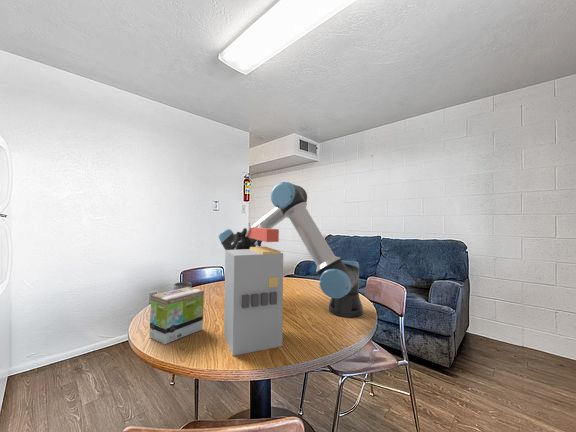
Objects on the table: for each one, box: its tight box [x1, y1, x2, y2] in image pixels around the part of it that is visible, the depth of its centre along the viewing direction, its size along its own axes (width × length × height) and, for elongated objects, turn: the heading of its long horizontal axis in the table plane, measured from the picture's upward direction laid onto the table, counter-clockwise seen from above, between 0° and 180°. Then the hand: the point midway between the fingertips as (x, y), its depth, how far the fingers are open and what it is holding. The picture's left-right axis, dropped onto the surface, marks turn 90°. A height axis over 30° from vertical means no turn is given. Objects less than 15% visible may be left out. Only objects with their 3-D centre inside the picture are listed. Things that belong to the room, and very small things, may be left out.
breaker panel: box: [223, 249, 284, 357], centre depth 87 cm, size 17×16×30 cm
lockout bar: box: [247, 227, 280, 243], centre depth 94 cm, size 28×4×4 cm, turn 23°
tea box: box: [148, 287, 205, 345], centre depth 92 cm, size 15×10×15 cm, turn 148°
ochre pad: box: [250, 246, 282, 254], centre depth 90 cm, size 16×6×1 cm, turn 23°
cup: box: [173, 281, 193, 290], centre depth 123 cm, size 10×9×10 cm
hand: (255, 226), depth 100 cm, fingers closed on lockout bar, 4 cm apart
